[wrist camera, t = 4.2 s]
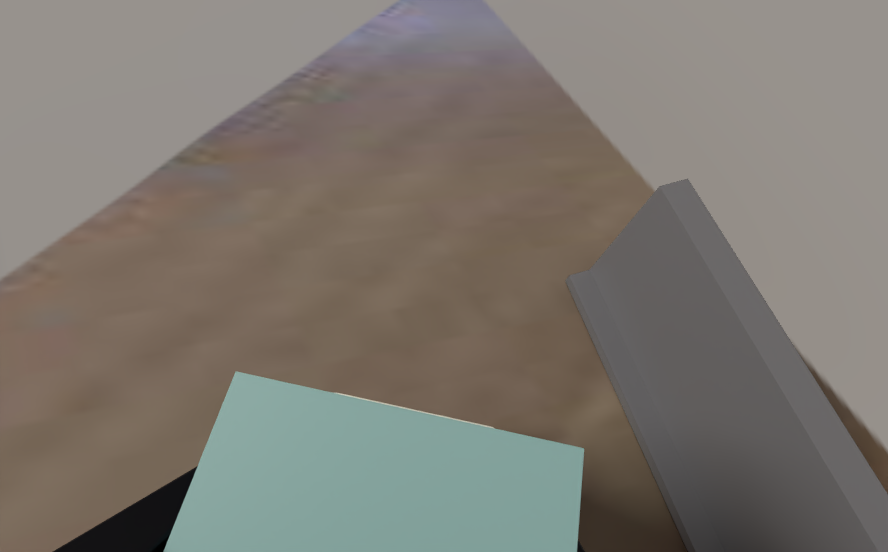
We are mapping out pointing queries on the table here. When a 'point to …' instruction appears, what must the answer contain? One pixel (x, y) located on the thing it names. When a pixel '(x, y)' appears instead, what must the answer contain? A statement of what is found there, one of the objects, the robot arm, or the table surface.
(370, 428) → the teal block
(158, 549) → the robot arm
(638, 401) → the screen
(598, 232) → the table surface
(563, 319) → the table surface
